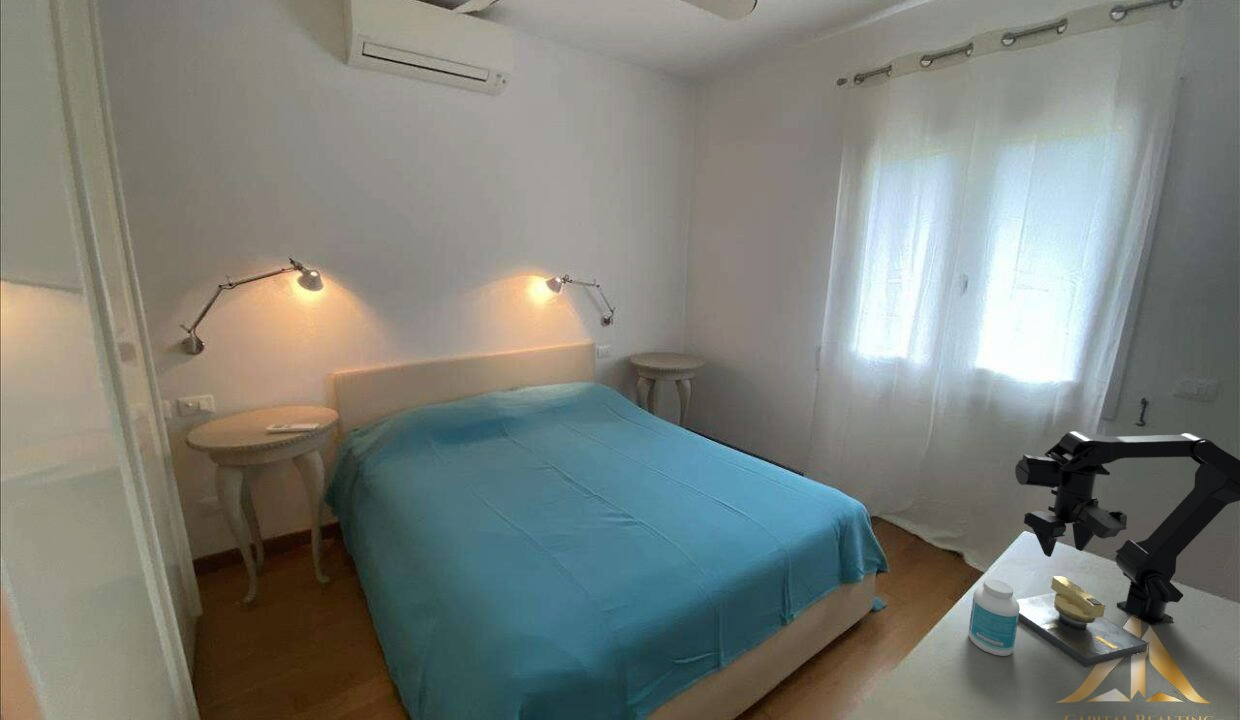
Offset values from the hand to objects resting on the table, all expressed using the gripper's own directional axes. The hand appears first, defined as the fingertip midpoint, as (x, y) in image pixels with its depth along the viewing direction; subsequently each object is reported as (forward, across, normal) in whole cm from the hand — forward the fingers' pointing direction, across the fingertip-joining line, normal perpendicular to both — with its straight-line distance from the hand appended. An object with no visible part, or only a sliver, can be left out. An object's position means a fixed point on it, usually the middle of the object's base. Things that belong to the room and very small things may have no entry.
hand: (1063, 552), depth 108 cm
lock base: (+12, -7, -8) cm, 16 cm away
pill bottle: (+12, -27, -7) cm, 30 cm away
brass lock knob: (+8, -7, -8) cm, 13 cm away
